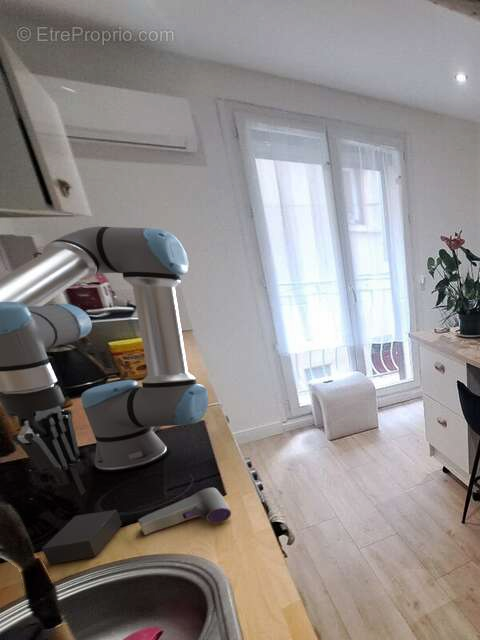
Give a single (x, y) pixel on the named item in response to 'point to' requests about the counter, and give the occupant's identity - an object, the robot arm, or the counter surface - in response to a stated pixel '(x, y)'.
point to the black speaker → (82, 537)
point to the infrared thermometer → (188, 511)
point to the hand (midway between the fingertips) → (74, 494)
